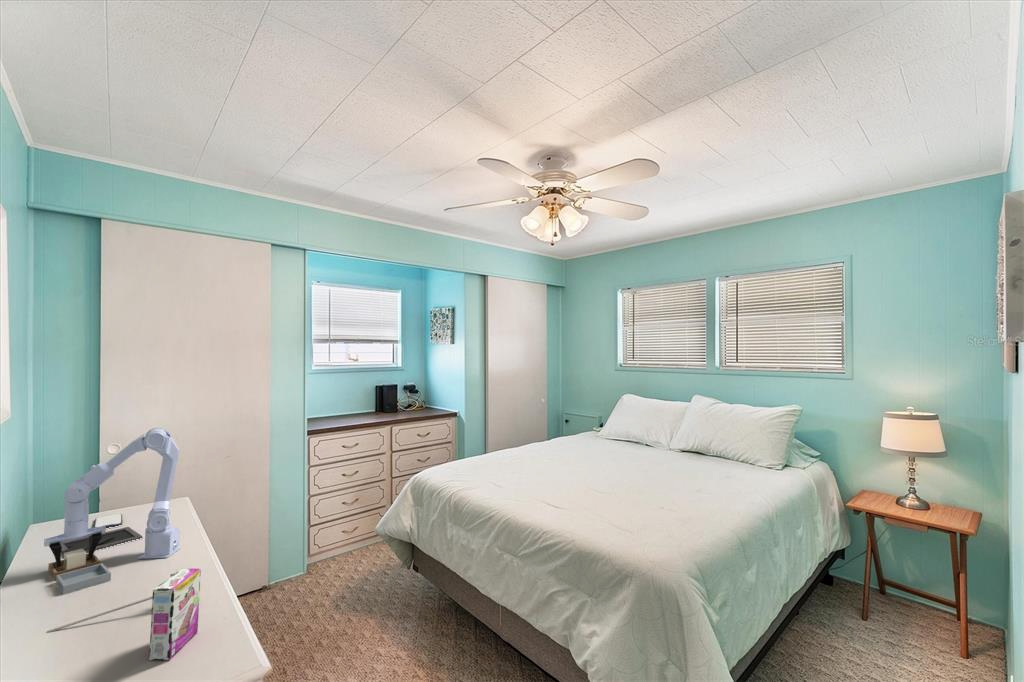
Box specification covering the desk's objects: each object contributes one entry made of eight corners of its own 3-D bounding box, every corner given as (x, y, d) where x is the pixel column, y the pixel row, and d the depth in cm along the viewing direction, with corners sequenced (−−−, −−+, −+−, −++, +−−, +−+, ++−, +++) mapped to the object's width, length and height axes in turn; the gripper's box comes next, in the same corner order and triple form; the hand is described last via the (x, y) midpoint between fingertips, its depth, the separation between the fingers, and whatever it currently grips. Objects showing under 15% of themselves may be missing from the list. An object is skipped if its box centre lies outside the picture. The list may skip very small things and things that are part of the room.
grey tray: (110, 580, 143) (111, 572, 143) (63, 594, 134) (63, 586, 134) (101, 570, 149) (102, 563, 149) (56, 583, 141) (56, 575, 141)
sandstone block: (85, 567, 150) (86, 552, 150) (66, 572, 146) (67, 556, 146) (82, 563, 153) (82, 548, 153) (63, 568, 149) (64, 552, 149)
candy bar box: (170, 661, 106) (173, 589, 107) (148, 662, 106) (150, 590, 106) (199, 632, 117) (201, 567, 118) (179, 632, 117) (181, 567, 117)
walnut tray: (100, 568, 150) (100, 561, 151) (54, 581, 142) (55, 573, 142) (92, 559, 157) (92, 552, 157) (48, 571, 148) (48, 563, 148)
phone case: (95, 521, 194) (93, 532, 181) (95, 517, 194) (93, 528, 181) (122, 517, 199) (122, 527, 187) (122, 513, 199) (122, 523, 187)
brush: (55, 645, 119) (50, 608, 120) (183, 601, 132) (178, 569, 132) (49, 652, 116) (44, 614, 116) (180, 606, 129) (175, 573, 129)
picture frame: (67, 559, 158) (142, 540, 175) (67, 554, 158) (142, 535, 175) (55, 548, 167) (128, 530, 184) (56, 542, 167) (128, 525, 184)
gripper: (102, 511, 158) (100, 550, 158) (43, 522, 147) (41, 565, 146) (108, 515, 154) (106, 556, 153) (47, 528, 142) (45, 572, 142)
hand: (74, 561), depth 150 cm, fingers open, 7 cm apart
